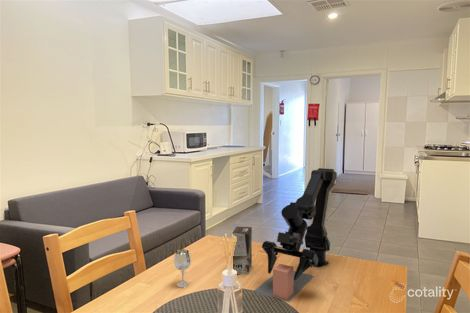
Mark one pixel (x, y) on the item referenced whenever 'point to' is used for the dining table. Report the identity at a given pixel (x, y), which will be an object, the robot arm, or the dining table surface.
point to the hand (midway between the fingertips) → (281, 276)
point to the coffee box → (243, 250)
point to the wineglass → (182, 264)
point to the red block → (283, 281)
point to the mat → (297, 286)
